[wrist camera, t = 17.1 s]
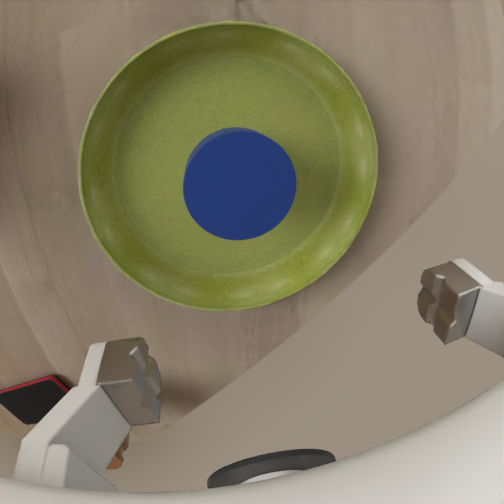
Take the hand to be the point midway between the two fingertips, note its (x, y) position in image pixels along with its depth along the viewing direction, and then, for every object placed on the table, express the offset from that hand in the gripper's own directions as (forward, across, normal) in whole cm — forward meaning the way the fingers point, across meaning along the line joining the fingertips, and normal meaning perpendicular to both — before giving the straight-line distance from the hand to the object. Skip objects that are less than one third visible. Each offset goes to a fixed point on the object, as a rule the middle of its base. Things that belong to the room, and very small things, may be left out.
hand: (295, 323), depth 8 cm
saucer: (+17, 0, -1) cm, 17 cm away
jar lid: (+11, 0, -1) cm, 11 cm away
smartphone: (+17, +30, +21) cm, 41 cm away
